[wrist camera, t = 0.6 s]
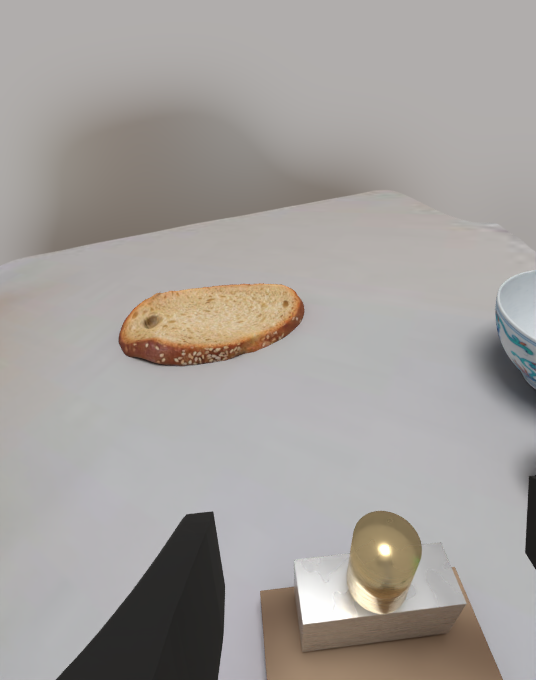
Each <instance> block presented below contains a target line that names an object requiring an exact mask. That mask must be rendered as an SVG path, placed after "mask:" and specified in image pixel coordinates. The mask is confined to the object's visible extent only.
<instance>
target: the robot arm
mask: <svg viewBox="0 0 536 680" xmlns="http://www.w3.org/2000/svg"><path fill="white" fill-rule="evenodd" d="M525 553H526V555H527V556H528V558H529V559H530V561H531V563H532V564H533V566H534V568H535V569H536V475H535V476H529V489H528V509H527V529H526V548H525ZM224 606H225V583H224V577H223V570H222V564H221V558H220V551H219V545H218V539H217V533H216V526H215V520H214V514H213V512H204V513H195V514H186V516H185V517H184V518H183V519H182V521H181V522H180V524H179V525H178V526H177V528H176V529H175V531H174V532H173V534H172V535H171V537H170V538H169V540H168V541H167V543H166V544H165V546H164V547H163V549H162V550H161V552H160V553H159V554H158V556H157V557H156V559H155V560H154V562H153V563H152V564H151V566H150V567H149V568H148V570H147V571H146V573H145V574H144V575H143V577H142V578H141V579H140V581H139V582H138V584H137V585H136V586H135V588H134V589H133V590H132V592H131V593H130V594H129V595H128V597H127V598H126V599H125V600H124V602H123V603H122V604H121V605H120V607H119V608H118V609H117V610H116V612H115V613H114V614H113V615H112V617H111V618H110V619H109V620H108V622H107V623H106V624H105V625H104V626H103V628H102V629H101V630H100V631H99V632H98V634H97V635H96V636H95V637H94V638H93V639H92V641H91V642H90V643H89V644H88V645H87V646H86V647H85V649H84V650H83V651H82V652H81V653H80V654H79V655H78V656H77V658H76V659H75V660H74V661H73V662H72V663H71V664H70V665H69V666H68V667H67V668H66V669H65V670H64V671H63V673H62V674H61V675H60V676H59V677H58V678H57V679H56V680H218V673H219V666H220V658H221V651H222V643H223V634H224Z"/></svg>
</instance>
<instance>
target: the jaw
mask: <svg viewBox="0 0 536 680" xmlns="http://www.w3.org/2000/svg"><path fill="white" fill-rule="evenodd" d="M294 593H295V601H296V608H297V616H298V623H299V630H300V638H301V645H302V652H306V651H314V650H322V649H329V648H337V647H345V646H352V645H360V644H368V643H375V642H383V641H390V640H398V639H406V638H413V637H421V636H429V635H436V634H444V633H449V631H450V629H451V628H452V626H453V625H454V623H455V621H456V620H457V618H458V617H459V615H460V614H461V612H462V610H463V609H464V607H465V606H466V604H467V603H466V601H465V598H464V596H463V594H462V591H461V589H460V586H459V584H458V582H457V579H456V577H455V575H454V572H453V570H452V567H451V565H450V563H449V560H448V558H447V556H446V553H445V551H444V549H443V546H442V544H441V542H440V543H431V544H423V545H421V541H420V538H419V536H418V534H417V532H416V531H415V529H414V528H413V527H412V525H411V524H410V523H409V522H407V521H406V520H405V519H404V518H402V517H400V516H399V515H397V514H394V513H391V512H387V511H375V512H371V513H368V514H366V515H365V516H363V517H362V518H361V519H360V520H359V521H358V522H357V524H356V526H355V529H354V532H353V538H352V544H351V550H350V553H348V554H339V555H331V556H323V557H314V558H306V559H297V560H294Z"/></svg>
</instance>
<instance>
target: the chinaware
mask: <svg viewBox="0 0 536 680" xmlns="http://www.w3.org/2000/svg"><path fill="white" fill-rule="evenodd" d="M496 325H497V331H498V335H499V338H500V341H501V343H502V346H503V348H504V350H505V352H506V353H507V355H508V356H509V358H510V359H511V361H512V362H513V363H514V364H515V365H516V367H517V368H518V369H519V370H520V371H521V372H522V375H523V377H524V378H525V380H526V381H527V382H528V383H529V384H530V385H531V386H532V387H533V388H534V389H536V270H532V271H527V272H523V273H520V274H517V275H515V276H513V277H511V278H509V279H508V280H506V281H505V282H504V283H503V284H502V285H501V287H500V288H499V290H498V293H497V299H496Z"/></svg>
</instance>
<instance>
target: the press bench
mask: <svg viewBox="0 0 536 680" xmlns="http://www.w3.org/2000/svg"><path fill="white" fill-rule="evenodd" d="M452 570H453V572H454V575H455V577H456V579H457V582H458V584H459V586H460V589H461V591H462V594H463V596H464V598H465V601H466V603H467V604H466V606H465V607H464V609H463V610H462V612H461V614H460V615H459V617H458V618H457V620H456V621H455V623H454V625H453V626H452V628H451V629H450V631H449V633H444V634H436V635H429V636H421V637H413V638H406V639H398V640H390V641H383V642H375V643H368V644H360V645H352V646H345V647H337V648H329V649H322V650H314V651H306V652H302V645H301V638H300V630H299V623H298V616H297V608H296V601H295V593H294V587H289V588H280V589H272V590H264V591H260V595H261V608H262V621H263V634H264V647H265V660H266V673H267V680H503V679H502V676H501V674H500V672H499V669H498V667H497V665H496V662H495V660H494V658H493V655H492V653H491V651H490V648H489V646H488V644H487V641H486V639H485V637H484V634H483V632H482V630H481V627H480V625H479V623H478V620H477V618H476V616H475V613H474V611H473V609H472V606H471V604H470V602H469V599H468V597H467V595H466V592H465V590H464V588H463V585H462V583H461V581H460V578H459V576H458V574H457V571H456V569H455V567H452Z"/></svg>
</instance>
